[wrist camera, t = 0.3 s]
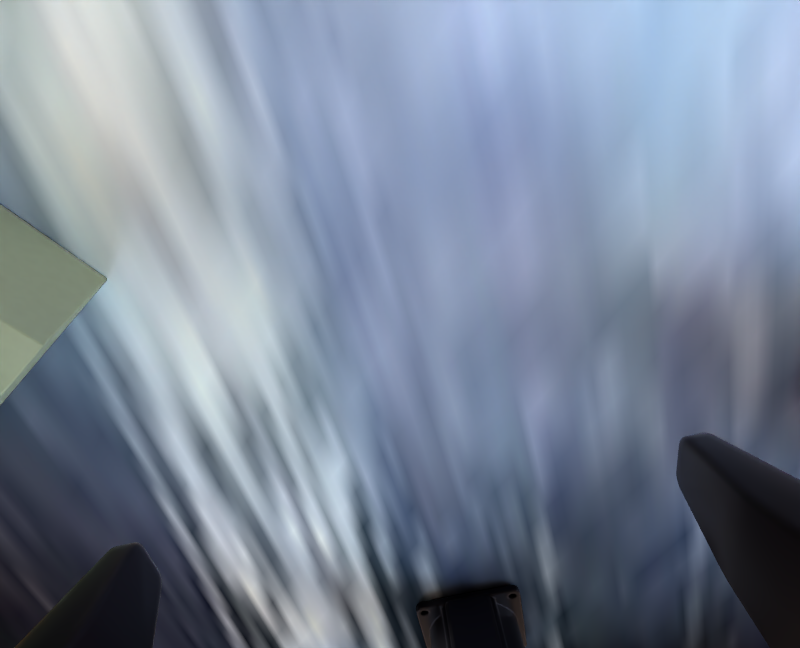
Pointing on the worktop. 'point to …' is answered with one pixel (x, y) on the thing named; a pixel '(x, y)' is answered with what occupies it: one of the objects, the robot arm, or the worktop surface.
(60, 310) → the button base
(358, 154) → the worktop surface
